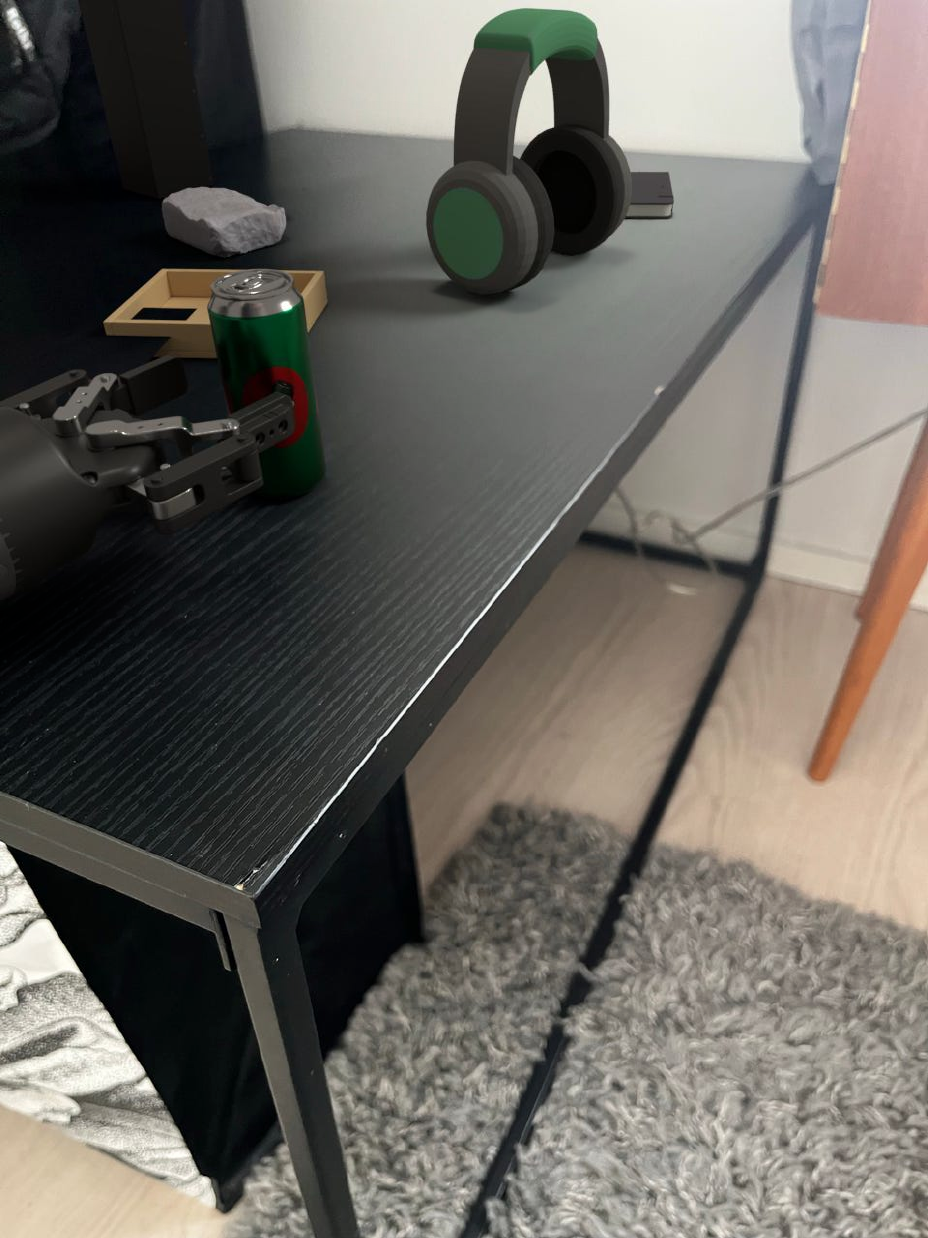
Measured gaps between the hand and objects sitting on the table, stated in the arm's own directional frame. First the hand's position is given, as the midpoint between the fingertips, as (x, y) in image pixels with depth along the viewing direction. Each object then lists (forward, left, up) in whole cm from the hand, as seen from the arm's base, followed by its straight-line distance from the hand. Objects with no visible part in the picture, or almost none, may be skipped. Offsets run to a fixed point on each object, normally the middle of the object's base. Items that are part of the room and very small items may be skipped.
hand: (232, 390), depth 51 cm
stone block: (-17, +50, -7) cm, 53 cm away
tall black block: (-31, +69, -7) cm, 76 cm away
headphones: (+14, +41, -7) cm, 44 cm away
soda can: (+1, +2, -7) cm, 7 cm away
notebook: (+17, +64, -7) cm, 67 cm away
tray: (-10, +26, -7) cm, 29 cm away
